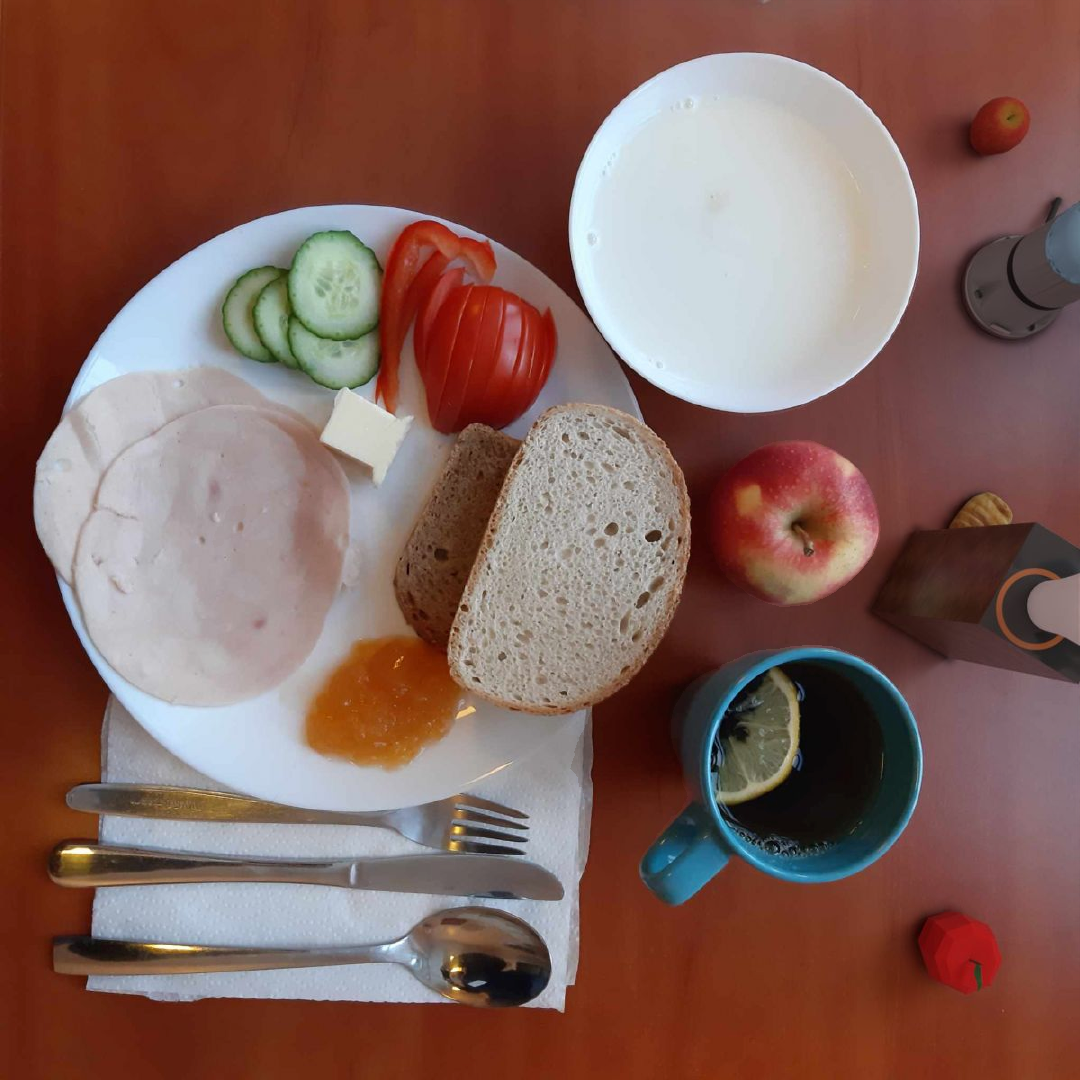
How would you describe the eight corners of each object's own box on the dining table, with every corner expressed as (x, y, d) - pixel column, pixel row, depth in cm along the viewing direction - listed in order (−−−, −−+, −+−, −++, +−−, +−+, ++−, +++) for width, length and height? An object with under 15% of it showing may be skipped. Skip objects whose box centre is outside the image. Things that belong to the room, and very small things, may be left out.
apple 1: (910, 899, 127) (947, 928, 117) (979, 903, 128) (1021, 932, 118) (905, 971, 127) (941, 1006, 117) (974, 975, 127) (1016, 1010, 117)
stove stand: (917, 529, 129) (1036, 519, 101) (994, 576, 129) (1134, 580, 101) (870, 610, 128) (978, 623, 100) (948, 658, 128) (1077, 684, 101)
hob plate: (1035, 521, 101) (1036, 521, 100) (1133, 582, 101) (1135, 582, 101) (978, 623, 100) (979, 624, 100) (1077, 684, 101) (1079, 684, 100)
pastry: (962, 560, 129) (977, 560, 125) (935, 526, 129) (948, 524, 125) (1008, 522, 130) (1024, 520, 126) (981, 487, 130) (995, 485, 126)
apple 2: (1016, 133, 131) (1050, 106, 124) (991, 175, 131) (1022, 150, 123) (975, 105, 131) (1006, 76, 123) (949, 147, 131) (978, 120, 123)
